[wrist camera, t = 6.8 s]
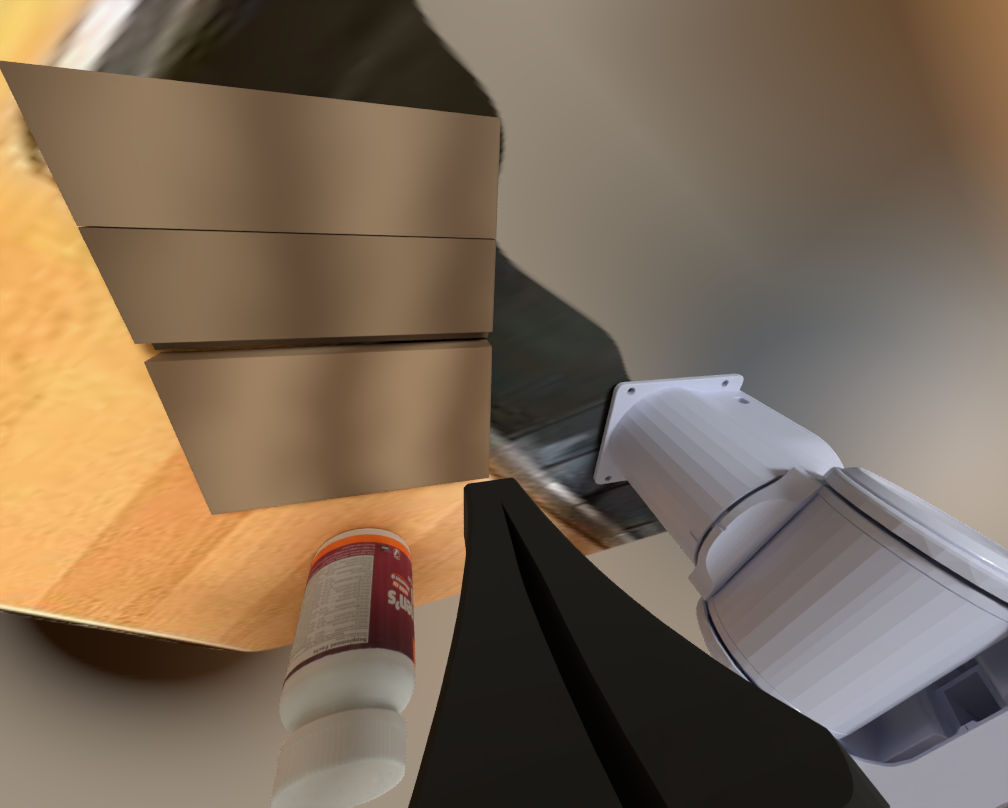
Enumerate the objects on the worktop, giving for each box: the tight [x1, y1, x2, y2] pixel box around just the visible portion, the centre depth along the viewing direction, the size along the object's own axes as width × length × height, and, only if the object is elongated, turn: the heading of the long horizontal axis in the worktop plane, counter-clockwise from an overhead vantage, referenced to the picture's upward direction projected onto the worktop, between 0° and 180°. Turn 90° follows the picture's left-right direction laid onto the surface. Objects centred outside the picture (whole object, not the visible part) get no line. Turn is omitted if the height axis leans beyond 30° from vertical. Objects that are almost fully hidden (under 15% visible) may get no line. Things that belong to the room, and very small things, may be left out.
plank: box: [144, 340, 492, 515], centre depth 18 cm, size 14×8×1 cm, turn 87°
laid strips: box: [0, 61, 501, 350], centre depth 14 cm, size 14×9×1 cm, turn 87°
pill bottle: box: [271, 528, 416, 808], centre depth 19 cm, size 6×6×11 cm
